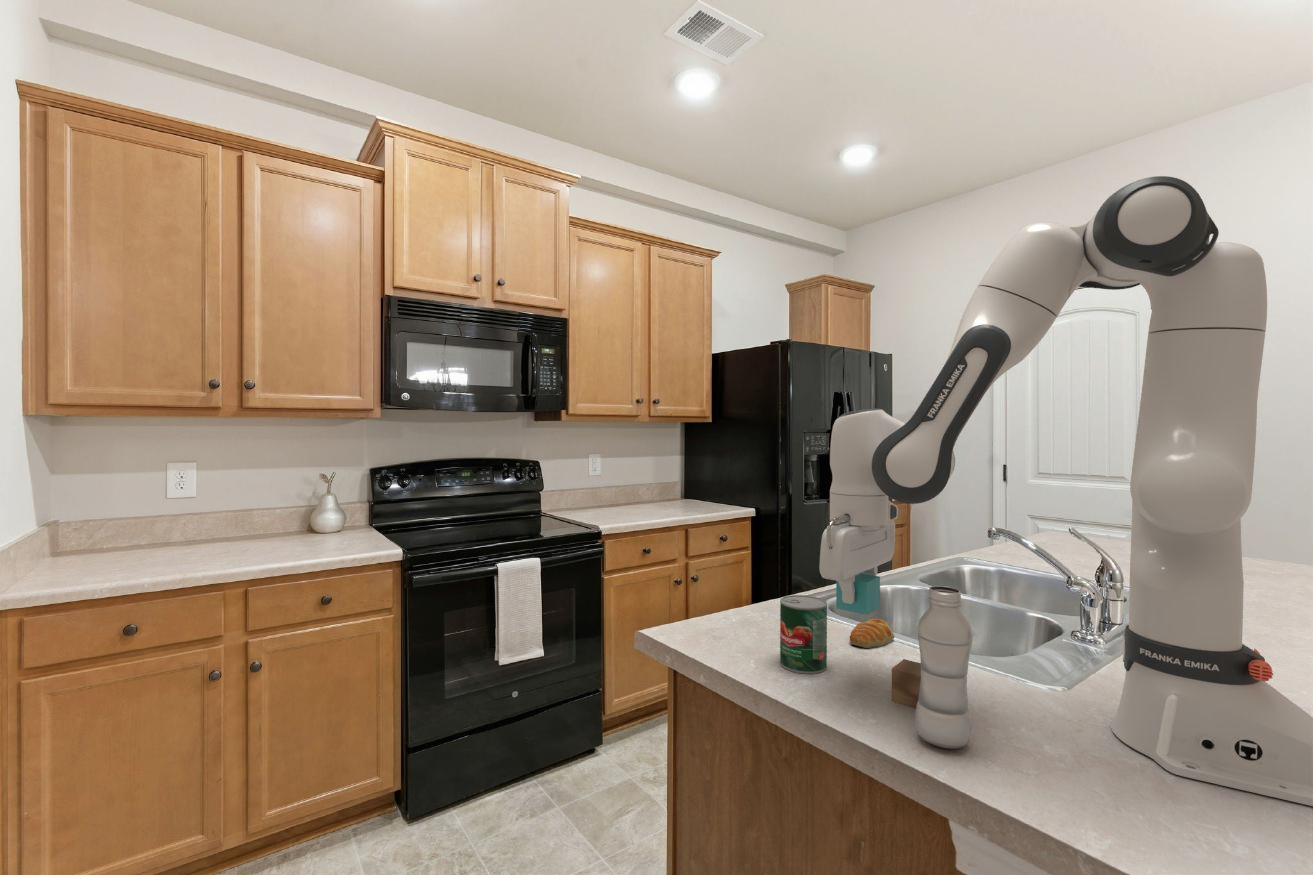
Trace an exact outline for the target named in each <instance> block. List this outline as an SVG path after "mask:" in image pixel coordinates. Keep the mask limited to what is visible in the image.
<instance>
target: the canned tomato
mask: <svg viewBox="0 0 1313 875" xmlns="http://www.w3.org/2000/svg"><path fill="white" fill-rule="evenodd" d="M779 601H780V603H779V605H780V608H779V609H780V610H779V611H780V613H779V614H780V615H779V619H780V620H779V621H780V622H779V626H780V629H779V630H780V633H779V635H780V636H779V638H780V640H779V643H780V645H779V650H780V651H779V657H780V659H779V664H780V666H781V667H782V668H784V669H785V670H786V671H787V670H788V671H789V670H790V671H789V672H793V673H797V674H805V675H813V674H814V675H815V674H820V673H824V672H825V671H826V670H827V668H828V665H827V662H828V660H827V657H828V654H827V653H828V651H827V650H828V645H827V644H828V641H827V640H828V602H827V601H826V600H824V598H823V599H822V598H820V597H817V596H812V595H804V594H792V595H791V594H790V595H785V596H782V597H781V598H780V600H779Z"/></svg>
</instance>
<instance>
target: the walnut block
mask: <svg viewBox="0 0 1313 875" xmlns="http://www.w3.org/2000/svg"><path fill="white" fill-rule="evenodd" d="M920 681H921V662H917V661H913V660H910V659H905V658H904V659H902V660H901V661H900V662H898V663H897V664H896V665H894V666H893V667H892V668H891V689H890V690H891V693H890V694H891V695H890V696H891V698H890V699H891V702H893V703H897V704H900V705H902V706H907V707H909V708H913V709H916V706H917V702H918V699H919V690H920Z"/></svg>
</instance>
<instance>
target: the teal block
mask: <svg viewBox="0 0 1313 875" xmlns="http://www.w3.org/2000/svg"><path fill="white" fill-rule="evenodd" d="M835 582H836V583H835V584H836V588H835V592H836V596H835V597H836V598H835V599H836V600H835V603H836V604H835V607H836V609H837V610H842V611H847V612H850V613H851V612H852V613H854V614H855V613H856V614H860V615H865V616H868V615H870V614H872V613H873V612H875V611H877V610H879V609H880V608H881V577H880V575H879V576H878V575H876V576H873V575H867V574H863V573H860V574H858V575H855V582H853V584H854V589H855V591H857V601H856V602H854V603H852V604H849V603H844V602H843V600H842V590H841V587H840V585H839V582H838V581H836V580H835Z"/></svg>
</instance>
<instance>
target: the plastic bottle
mask: <svg viewBox="0 0 1313 875" xmlns="http://www.w3.org/2000/svg"><path fill="white" fill-rule="evenodd" d="M928 588H929V589H928V598H927V600H928V601H927V602H928V603H929V604H930V606H929V607H928V609H927V610H925V612H924V613H922V616H921V617H920V618H919V620H918V622H917V627H916V629H917V632H916V633H917V639H918V640H917V641H918V647H919V654H920V655H919V656H920V659H919V660H920V663H921V681H920V690H919V699H918V702H917V706H916V708H915V711H914V723H915V729H916V732H917V733H918V734H919V736H920V738H921V739H922V740H923V741H925V742H926V743H928V744H931V745H933V746H935V747H939V748H943V749H949V750H950V749H951V750H955V749H961V748H963V747H964V746H965V745H966V744H967V743H968V742H970V738H971V733H972V721H971V715H970V710H969V700H968V687H967V686H968V675H969V674H968V673H969V662H970V657H971V651H972V646H973V640H974V633H973V629H972V625H971V624H970V623H969V620H967V618H966V617H965V615H964V613H963V612H962V611H961V610H960V607H962V605H963V604H962V603H963V602H962V596H961V595H962V593H961V590H960V589H958V588H955V587H951V586H944V585H933V586H929V587H928Z"/></svg>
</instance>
